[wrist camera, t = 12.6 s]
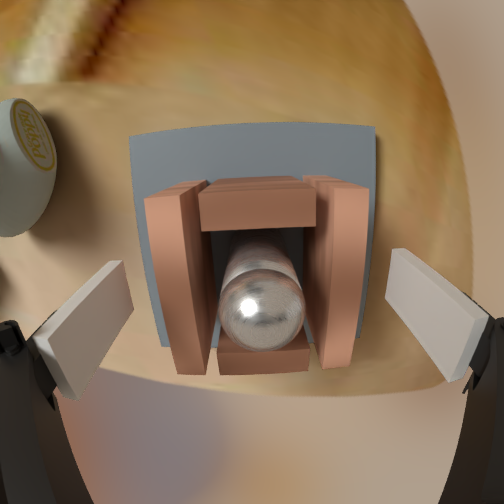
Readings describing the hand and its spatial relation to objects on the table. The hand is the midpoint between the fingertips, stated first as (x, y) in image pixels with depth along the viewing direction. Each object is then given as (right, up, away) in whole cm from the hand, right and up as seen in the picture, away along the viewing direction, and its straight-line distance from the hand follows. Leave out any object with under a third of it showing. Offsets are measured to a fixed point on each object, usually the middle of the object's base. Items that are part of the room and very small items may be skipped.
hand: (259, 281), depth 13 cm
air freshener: (-19, +9, +5) cm, 22 cm away
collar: (0, +2, +6) cm, 6 cm away
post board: (0, +2, +7) cm, 7 cm away
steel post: (0, +2, +6) cm, 6 cm away
